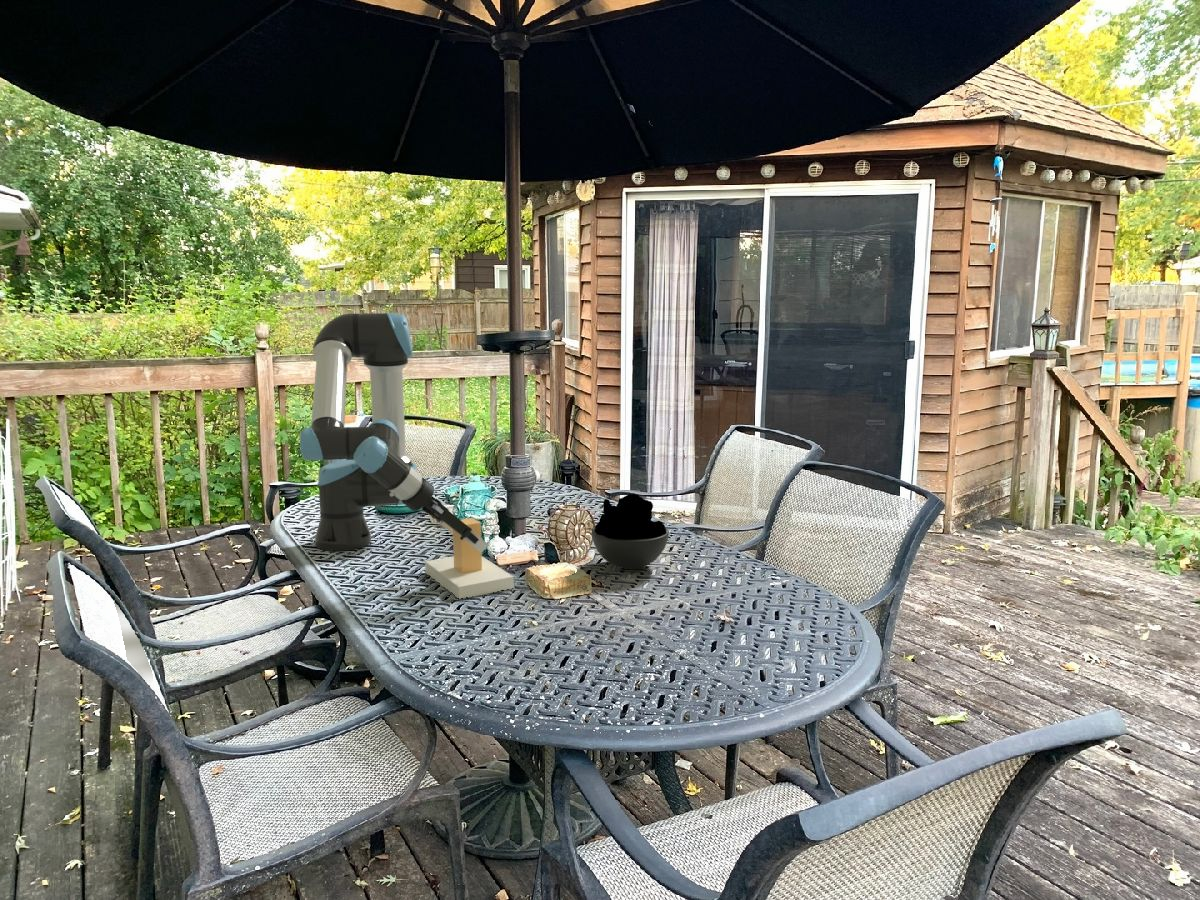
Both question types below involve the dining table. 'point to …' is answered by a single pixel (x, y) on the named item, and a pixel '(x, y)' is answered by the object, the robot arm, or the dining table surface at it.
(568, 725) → the dining table surface
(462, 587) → the plate
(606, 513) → the coal bowl
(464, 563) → the tan upright carton
